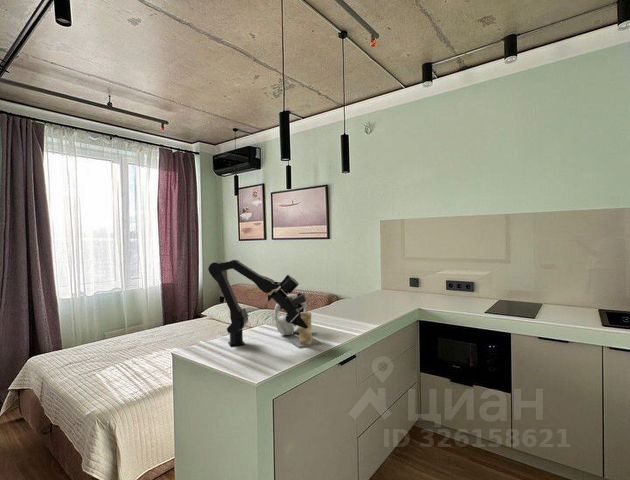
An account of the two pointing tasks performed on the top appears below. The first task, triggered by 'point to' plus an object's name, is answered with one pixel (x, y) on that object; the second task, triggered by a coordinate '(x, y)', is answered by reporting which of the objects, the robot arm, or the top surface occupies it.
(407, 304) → the top surface
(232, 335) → the robot arm
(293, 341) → the rubber mat
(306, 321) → the oak block
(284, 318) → the headphones
